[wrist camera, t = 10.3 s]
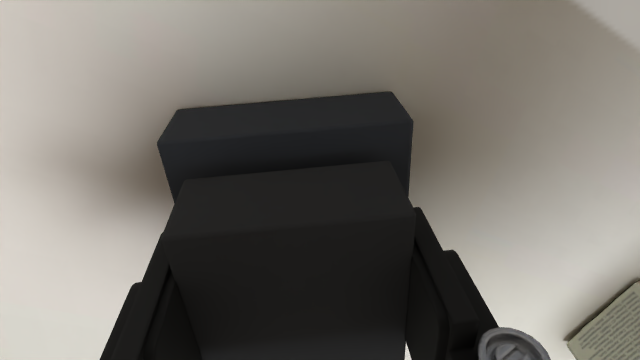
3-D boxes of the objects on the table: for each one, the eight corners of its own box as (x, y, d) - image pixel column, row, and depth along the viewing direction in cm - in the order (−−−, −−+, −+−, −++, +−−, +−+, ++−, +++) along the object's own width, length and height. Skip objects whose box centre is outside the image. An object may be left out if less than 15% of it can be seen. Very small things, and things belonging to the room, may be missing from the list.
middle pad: (183, 178, 10) (158, 238, 8) (390, 159, 11) (417, 213, 9) (222, 319, 13) (211, 391, 11) (384, 301, 14) (404, 369, 11)
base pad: (176, 108, 13) (154, 142, 11) (392, 90, 13) (414, 119, 11) (218, 270, 16) (208, 319, 14) (386, 253, 17) (402, 299, 14)
